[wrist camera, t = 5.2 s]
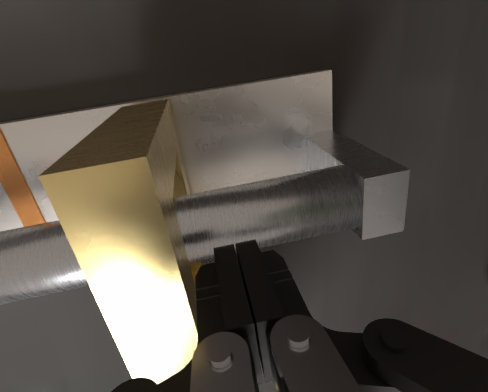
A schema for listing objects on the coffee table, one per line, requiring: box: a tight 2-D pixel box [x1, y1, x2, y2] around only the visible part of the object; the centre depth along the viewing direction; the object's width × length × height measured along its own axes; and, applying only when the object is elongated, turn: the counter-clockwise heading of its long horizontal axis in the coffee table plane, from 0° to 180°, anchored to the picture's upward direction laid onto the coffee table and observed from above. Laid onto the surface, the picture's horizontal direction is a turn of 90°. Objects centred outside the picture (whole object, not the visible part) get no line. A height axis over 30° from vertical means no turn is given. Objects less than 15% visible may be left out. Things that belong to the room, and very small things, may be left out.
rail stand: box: [0, 69, 410, 305], centre depth 16 cm, size 26×10×9 cm, turn 97°
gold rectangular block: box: [39, 99, 206, 384], centre depth 14 cm, size 2×10×10 cm, turn 7°
